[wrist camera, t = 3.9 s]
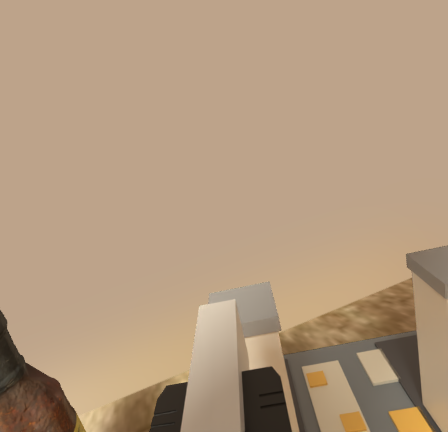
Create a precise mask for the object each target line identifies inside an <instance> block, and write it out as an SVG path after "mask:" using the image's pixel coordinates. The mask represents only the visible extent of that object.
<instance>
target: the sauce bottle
mask: <svg viewBox="0 0 448 432" xmlns="http://www.w3.org/2000/svg"><path fill="white" fill-rule="evenodd" d="M0 432H86V431H85V429H84V427H83V425H82V423H81V421H80V419H79V417H78V415H77V413H76V411H75V410H74V408H73V407H72V406H71V405H70V403H69V401H68V400H67V398H66V396H65V395H64V392H63V390H62V388H61V386H60V383H59V382H58V381H57V380H56V379H54V378H51V377H49V376H47V375H46V374H44V373H42V372H41V371H39V370H37V369H36V368H34V367H32V366H31V365H29V364H27V363H25V360H24V357H23V356H22V355H20V354H19V352H18V350H17V348H16V346H15V345H14V343H13V341H12V339H11V336H10V334H9V332H8V330H7V320H6V318H5V317H4V315H3V313H2V312H1V311H0Z"/></svg>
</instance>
